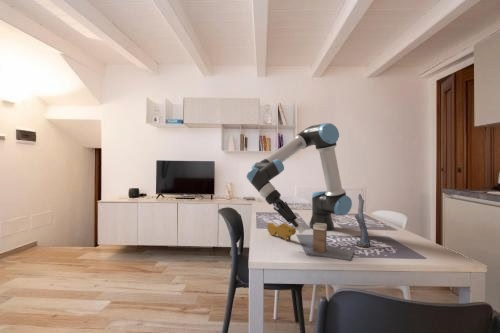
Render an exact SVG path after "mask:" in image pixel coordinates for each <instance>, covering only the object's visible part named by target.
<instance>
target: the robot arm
mask: <svg viewBox="0 0 500 333" xmlns="http://www.w3.org/2000/svg"><path fill="white" fill-rule="evenodd" d="M339 138H340V133H339V129H338V128H337V126H336V125H334V123H330V122H329V123H328V122H324V123H320V124H314V125H310V126H308V127H307V128H305V129H303V130H301V131H300V132H299V133H297V134H296V135H295V136H294V138H293V139H292V140H290V141H289V142H287V143H285V145H283V146H281V147H280V148H278V149H277V150H275V151H274V152H272V153H271V154H270V155H268V156H266V157H265V158H263V160H261V161H258V162H255V163H252V165H251V169H250V170H249V171H248V172H247V173H246V179H247V180H248V182H249V183H250V184H251V185H252V186H253V187H254V189H256V190H257V192H258V193H259V194H260V197H262V198H264V199H265V201H266V202H267V204H268V205H272V206H274V207H273V209H274V211H276V212H277V213H278V214H279V215H280V216H281V218H283V219H285V221H286V222H287V223H288V224H289V225H290V224H291V225H292V227H294V228H295V229H296V231H298V233H299V234H302V233H303V232H304V231H305V230H306V228H305V227H304V226H303V225H302V224H301V223H300V221H299V220H298V219H297V218H298V216H297V215H296V214H295V213H294V211H293V210H292V209H291V207H290V205H288V203H287V201H284V200H283V199H281V196H282V195H281V193H280V192H279V191H278V189H276V187H275V186H274V185H273V183H271V182H270V181H271V180H273V179H274V178H275V177H277V176H278V175H280V174H281V173H282V172H283V171H284V170H285V166H284V164H283V163H284V162H285V161H286V160H287V159H289V158H291V157H292V156H294V155H295V154H296V153H298V152H299V151H300V150H305V149H306V148H308V147H312V146H315V150H316V151H318V152H319V157H320V161H321V167H322V172H323V176H324V182H325V186H326V190H325V191H314V192H313V193H312V197H311V206H312V207H311V218H310V221H309V223H308V224H309V225H308V226H309V228H310V229H313V225H314V224H315V223H323V224H327V231H331V230H334V228H335V224H334V221H333V218H332V214H333V215H335V216H343V217H344V216H346V215H348V214H349V212H350V211H351V210H352V207H353V202H352V199H351V197H349V196H348V195H347V192H346V190H345V188H343V186H342V182H341V181H342V180H341V176H340V171H339V164H338V159H337V154H336V149H335V148H336V147H337V142H338V140H339Z"/></svg>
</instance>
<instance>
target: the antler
mask: <svg viewBox="0 0 500 333" xmlns="http://www.w3.org/2000/svg"><path fill="white" fill-rule="evenodd" d="M357 198H358V208H357V214H354V218H355V220H356V221H357V223H358V227H359V229H360V240H356V244H355V245H356V246H359V247H364V248H365V247H372V244H371V240H370V239H369V232H368V227H367V225H366V221H365V216H364V204H365V200H364V199H363V196H362V194H361V193H358V197H357Z"/></svg>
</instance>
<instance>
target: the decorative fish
mask: <svg viewBox="0 0 500 333" xmlns="http://www.w3.org/2000/svg"><path fill="white" fill-rule="evenodd" d="M266 227H267V228H266V229H267V232H268V234H269V235H270V236H272V237H274V236H276V235H277V236H278V237H280V238H284V241H285V242H288V241H291V239H292V238H291V236H294V235H295V234H296V233H297V229H296V228H295V227H294V226H290V225H288V224H287V223H285V222H284V223H280V225H277V224H276V223H274V222H269V223H266Z"/></svg>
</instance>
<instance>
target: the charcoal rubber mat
mask: <svg viewBox="0 0 500 333" xmlns="http://www.w3.org/2000/svg"><path fill="white" fill-rule="evenodd" d="M354 253H355V250H354V249H348V248H341V247H334V246H327V245H326V251H325V252H324V253H322V252H315V251H313V247H311V249H310V250H309V251H308V252H307V255H310V256H317V257H321V258H322V257H323V258H328V259H329V258H330V259H337V260H342V261H344V260H345V261H351V260H352V258H353V256H354Z"/></svg>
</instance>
